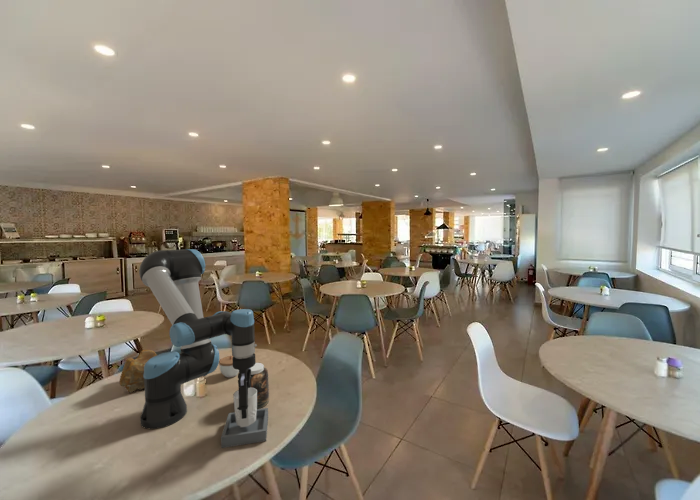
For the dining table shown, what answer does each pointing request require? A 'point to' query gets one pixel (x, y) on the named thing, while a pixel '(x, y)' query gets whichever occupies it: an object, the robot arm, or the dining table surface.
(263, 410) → the tray
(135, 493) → the dining table surface
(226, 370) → the lidded jar
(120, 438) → the dining table surface
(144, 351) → the rough brown rock
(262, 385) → the jar
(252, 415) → the white cup
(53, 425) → the dining table surface
